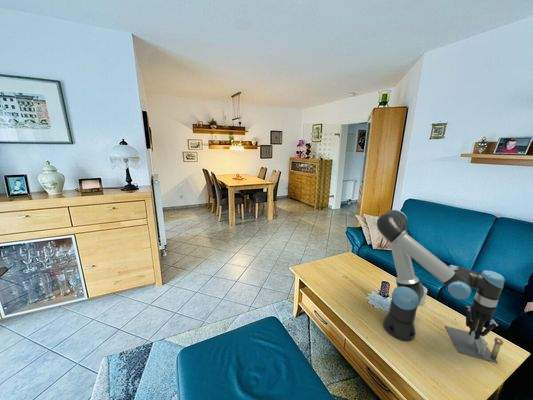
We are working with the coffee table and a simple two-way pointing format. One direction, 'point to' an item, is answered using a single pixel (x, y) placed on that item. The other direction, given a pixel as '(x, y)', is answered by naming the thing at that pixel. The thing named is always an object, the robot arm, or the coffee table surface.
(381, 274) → the coffee table surface
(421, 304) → the cup
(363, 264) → the coffee table surface
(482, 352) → the beige piece
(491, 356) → the brass capped rod
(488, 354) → the mat
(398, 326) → the robot arm
